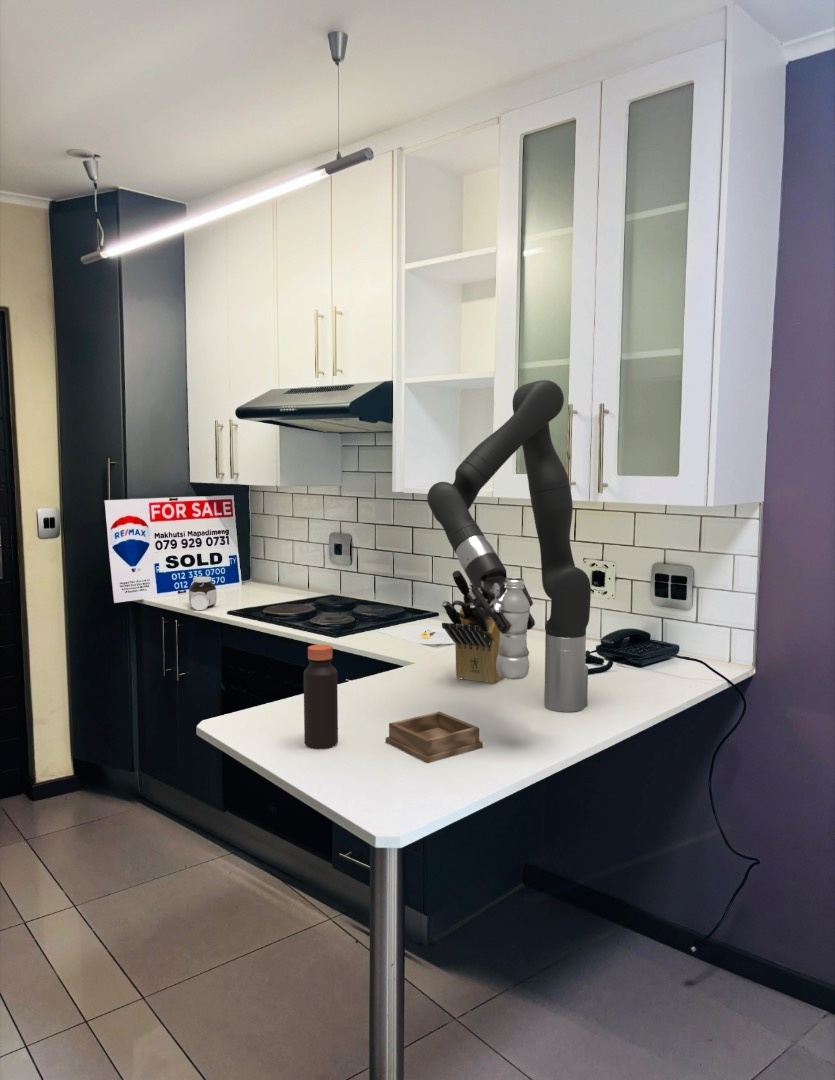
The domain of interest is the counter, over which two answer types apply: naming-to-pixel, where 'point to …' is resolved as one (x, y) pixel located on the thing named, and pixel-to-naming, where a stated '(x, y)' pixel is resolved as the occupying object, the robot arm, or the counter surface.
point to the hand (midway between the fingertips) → (519, 629)
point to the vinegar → (320, 699)
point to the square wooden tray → (434, 736)
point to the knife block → (472, 637)
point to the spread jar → (202, 593)
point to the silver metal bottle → (514, 632)
